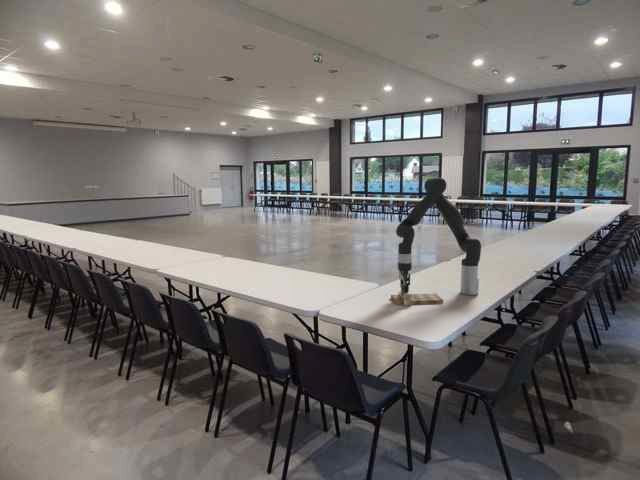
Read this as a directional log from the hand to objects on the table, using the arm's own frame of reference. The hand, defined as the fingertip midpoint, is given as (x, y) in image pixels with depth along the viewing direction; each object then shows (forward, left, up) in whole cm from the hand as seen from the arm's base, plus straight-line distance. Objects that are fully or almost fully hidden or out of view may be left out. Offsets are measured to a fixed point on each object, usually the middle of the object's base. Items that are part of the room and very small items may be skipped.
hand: (404, 289), depth 225 cm
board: (-7, 0, -7) cm, 9 cm away
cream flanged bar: (0, 0, -7) cm, 7 cm away
